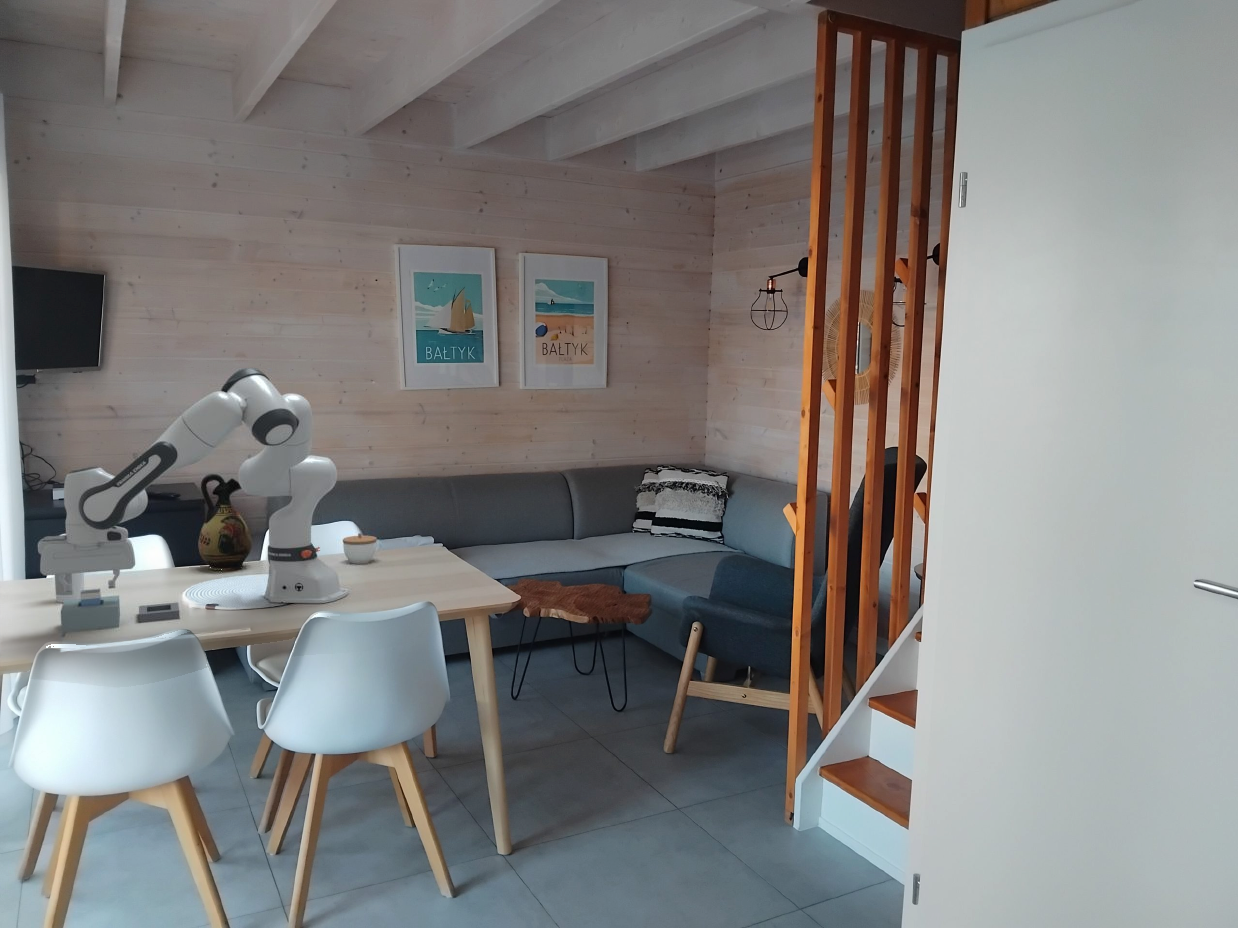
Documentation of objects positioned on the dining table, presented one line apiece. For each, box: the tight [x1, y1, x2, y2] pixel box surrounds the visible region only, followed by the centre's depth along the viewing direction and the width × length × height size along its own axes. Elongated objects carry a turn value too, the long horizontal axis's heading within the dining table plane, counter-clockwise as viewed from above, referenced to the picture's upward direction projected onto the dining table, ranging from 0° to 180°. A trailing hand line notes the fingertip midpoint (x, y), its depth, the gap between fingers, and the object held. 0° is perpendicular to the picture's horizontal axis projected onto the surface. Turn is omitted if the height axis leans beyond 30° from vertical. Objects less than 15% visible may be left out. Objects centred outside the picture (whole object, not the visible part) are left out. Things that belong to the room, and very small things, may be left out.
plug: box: [80, 588, 102, 607], centre depth 233 cm, size 4×4×9 cm
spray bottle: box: [54, 533, 85, 604], centre depth 259 cm, size 7×7×18 cm
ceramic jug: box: [198, 473, 253, 572], centre depth 299 cm, size 17×15×30 cm
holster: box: [138, 602, 181, 624], centre depth 240 cm, size 9×9×3 cm
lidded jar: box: [342, 533, 378, 565], centre depth 312 cm, size 11×11×9 cm
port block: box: [60, 594, 121, 637], centre depth 233 cm, size 12×12×6 cm
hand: (90, 589), depth 233 cm, fingers open, 8 cm apart
